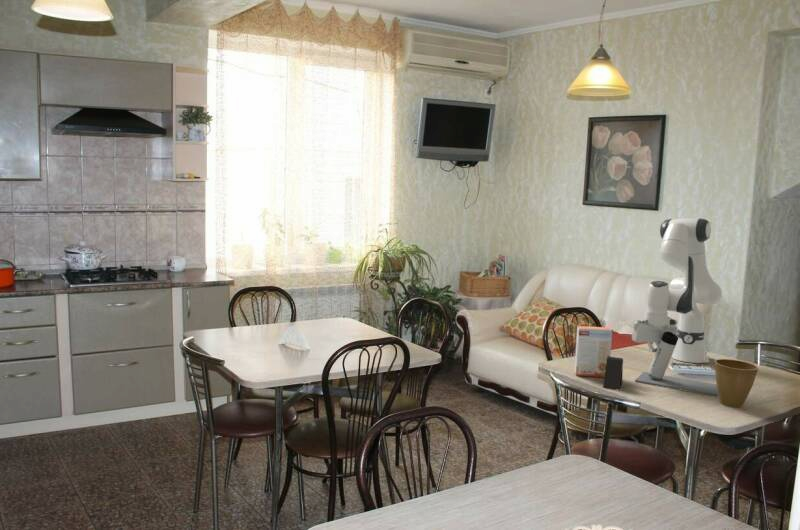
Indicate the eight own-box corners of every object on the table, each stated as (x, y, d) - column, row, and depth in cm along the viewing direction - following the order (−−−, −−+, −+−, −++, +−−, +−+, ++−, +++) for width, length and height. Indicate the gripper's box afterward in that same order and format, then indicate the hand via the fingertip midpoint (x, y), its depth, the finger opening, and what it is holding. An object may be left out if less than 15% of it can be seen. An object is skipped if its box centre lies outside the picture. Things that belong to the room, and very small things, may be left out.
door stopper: (607, 382, 292) (609, 354, 291) (622, 384, 290) (624, 356, 288) (602, 387, 285) (605, 358, 283) (618, 390, 282) (620, 361, 280)
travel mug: (660, 375, 301) (677, 333, 295) (663, 381, 295) (680, 339, 289) (646, 370, 302) (662, 329, 296) (648, 377, 296) (665, 335, 290)
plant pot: (717, 409, 263) (721, 367, 261) (706, 397, 277) (710, 357, 276) (759, 412, 261) (764, 370, 259) (745, 400, 275) (750, 360, 274)
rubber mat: (643, 373, 309) (643, 371, 309) (722, 387, 293) (722, 385, 293) (635, 381, 295) (635, 379, 295) (717, 396, 279) (717, 394, 279)
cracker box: (606, 374, 305) (610, 327, 302) (609, 378, 299) (613, 330, 296) (573, 372, 306) (577, 325, 304) (575, 375, 300) (579, 327, 298)
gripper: (639, 321, 291) (636, 354, 292) (681, 321, 297) (678, 353, 298) (630, 318, 297) (627, 350, 298) (671, 318, 303) (668, 349, 304)
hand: (653, 351), depth 298 cm, fingers closed
